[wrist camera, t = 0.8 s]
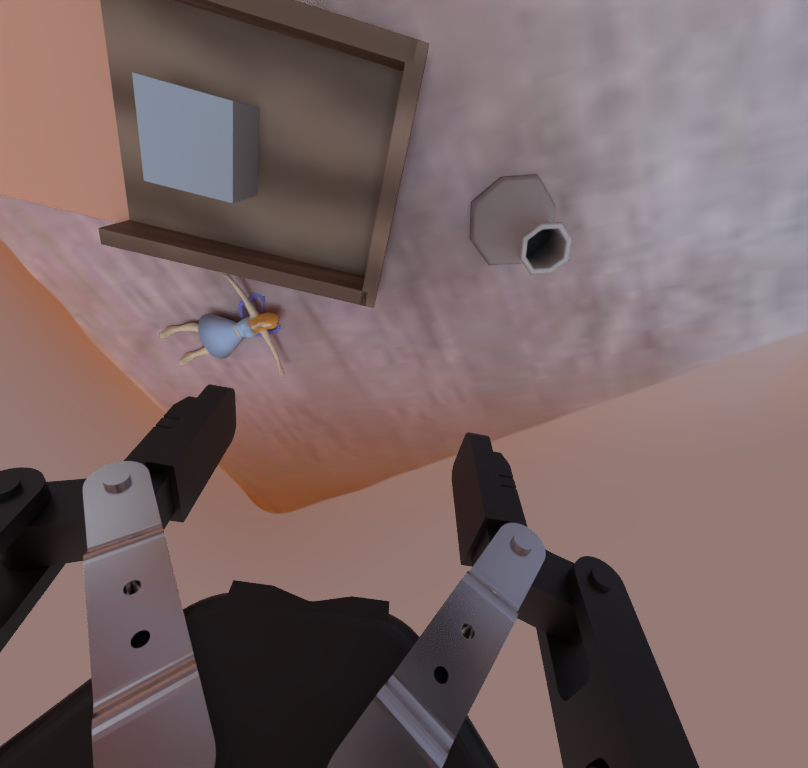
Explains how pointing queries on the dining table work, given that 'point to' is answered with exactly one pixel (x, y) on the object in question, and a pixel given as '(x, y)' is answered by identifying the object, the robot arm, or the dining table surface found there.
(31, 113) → the terracotta mat
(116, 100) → the walnut cubby
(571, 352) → the dining table surface
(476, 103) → the dining table surface
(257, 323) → the fairy figurine
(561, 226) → the flask
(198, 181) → the slate block
